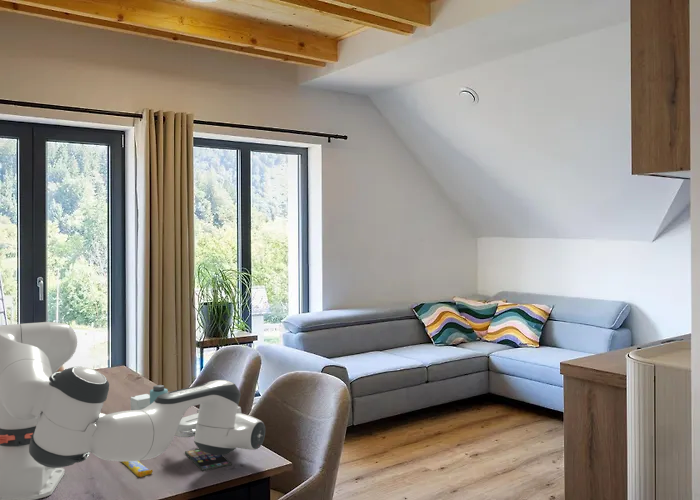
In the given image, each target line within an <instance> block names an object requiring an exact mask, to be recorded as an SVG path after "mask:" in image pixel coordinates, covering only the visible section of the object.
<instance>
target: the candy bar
mask: <svg viewBox="0 0 700 500" xmlns="http://www.w3.org/2000/svg"><path fill="white" fill-rule="evenodd" d="M120 463H122V464H123V465H124V466H126V467H127V468H128V470H130V471H131V472H132V473H133V474H134V475H135V476H136V477H138V478H142V477H145V476H149V475H152V474H153V472H154V471H153V469H149V468H148V467H146V465H144V464H143V463H142V462H141V461H120Z"/></svg>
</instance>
